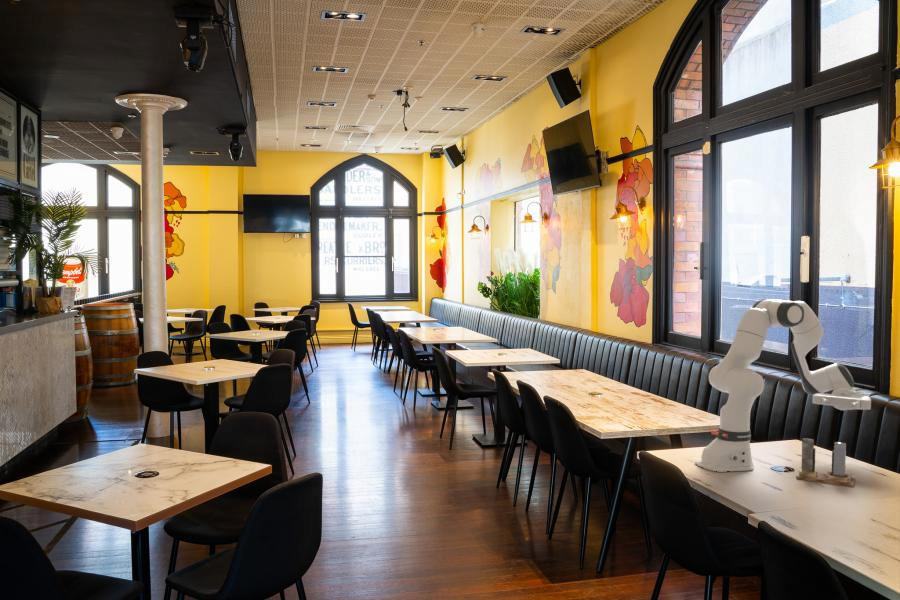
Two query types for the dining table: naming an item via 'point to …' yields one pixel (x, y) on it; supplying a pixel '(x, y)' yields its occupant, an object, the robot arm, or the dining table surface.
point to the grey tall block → (839, 459)
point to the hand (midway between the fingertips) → (839, 403)
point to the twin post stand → (811, 474)
